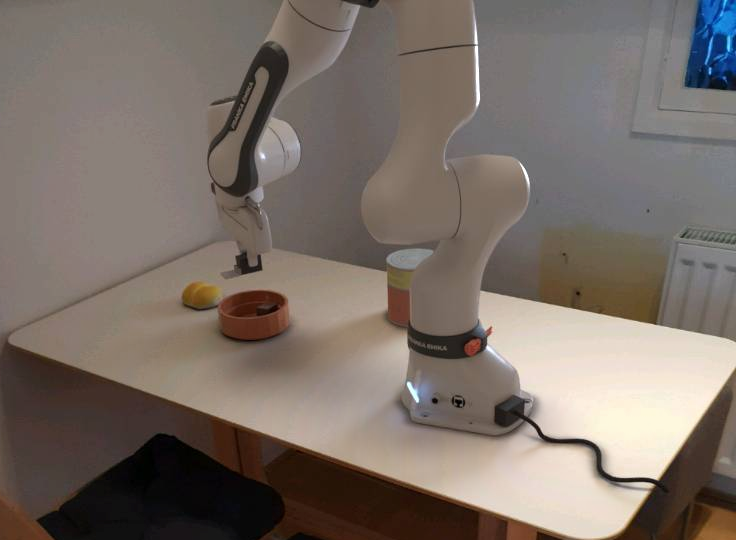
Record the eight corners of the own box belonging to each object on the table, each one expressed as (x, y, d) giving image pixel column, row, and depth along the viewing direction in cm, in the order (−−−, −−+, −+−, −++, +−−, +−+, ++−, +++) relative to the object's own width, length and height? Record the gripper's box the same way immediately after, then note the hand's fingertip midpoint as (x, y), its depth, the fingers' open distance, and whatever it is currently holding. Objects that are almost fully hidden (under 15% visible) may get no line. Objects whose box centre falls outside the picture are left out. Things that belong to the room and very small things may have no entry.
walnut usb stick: (267, 317, 170) (266, 301, 169) (279, 318, 169) (279, 303, 167) (246, 327, 164) (246, 311, 162) (259, 329, 163) (259, 313, 161)
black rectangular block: (257, 266, 165) (255, 250, 163) (263, 270, 163) (261, 255, 161) (220, 274, 163) (218, 258, 161) (225, 279, 161) (223, 263, 159)
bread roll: (204, 313, 175) (201, 295, 172) (177, 304, 179) (173, 286, 177) (232, 299, 180) (229, 282, 177) (204, 291, 184) (201, 273, 182)
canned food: (449, 322, 165) (451, 264, 158) (396, 330, 163) (394, 272, 156) (432, 300, 174) (433, 245, 166) (381, 308, 172) (379, 252, 165)
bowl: (303, 320, 169) (301, 297, 166) (261, 347, 160) (258, 324, 157) (250, 307, 176) (247, 285, 173) (207, 333, 167) (203, 310, 164)
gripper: (275, 202, 148) (283, 275, 156) (237, 175, 162) (246, 243, 171) (243, 208, 145) (252, 283, 154) (206, 180, 160) (217, 250, 169)
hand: (249, 262), depth 162 cm, fingers closed on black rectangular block, 2 cm apart
